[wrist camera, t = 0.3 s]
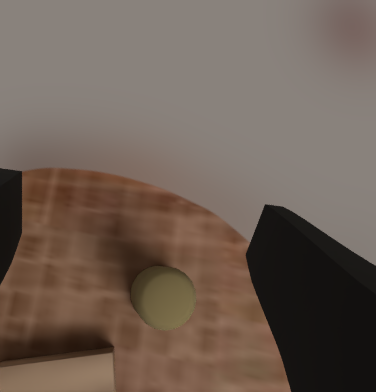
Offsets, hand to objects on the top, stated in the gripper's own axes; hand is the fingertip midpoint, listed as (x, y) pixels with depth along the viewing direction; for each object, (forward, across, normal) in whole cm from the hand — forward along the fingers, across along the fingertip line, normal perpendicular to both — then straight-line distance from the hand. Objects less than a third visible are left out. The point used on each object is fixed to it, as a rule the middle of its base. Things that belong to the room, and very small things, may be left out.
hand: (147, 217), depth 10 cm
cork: (+19, -6, +22) cm, 30 cm away
